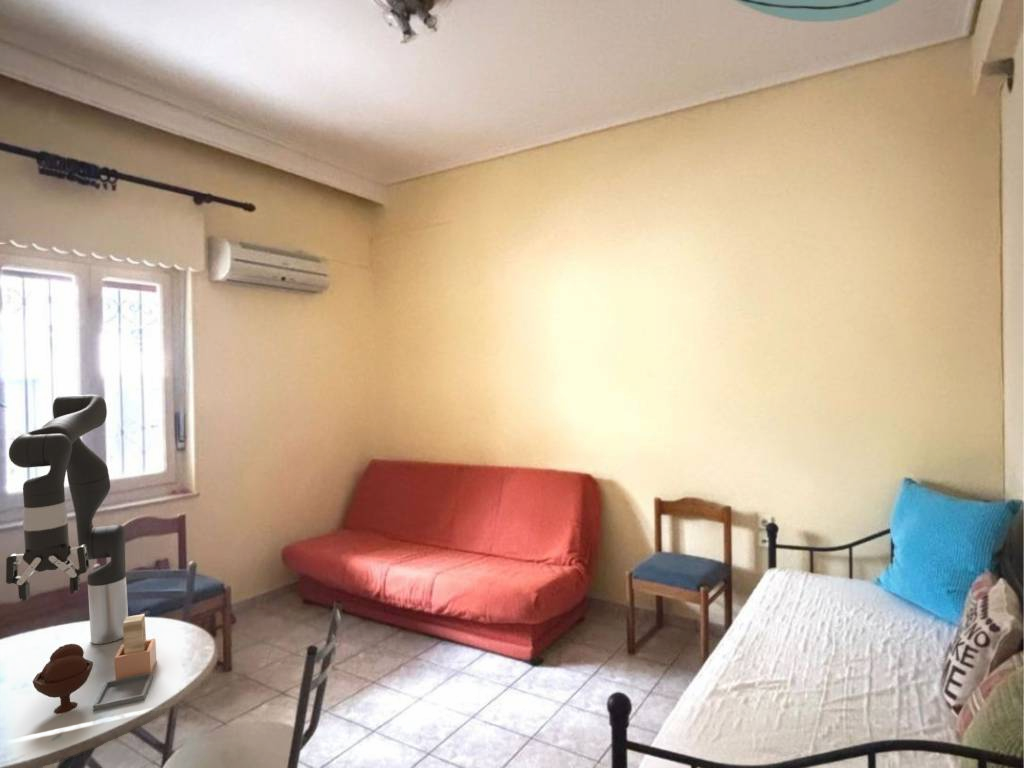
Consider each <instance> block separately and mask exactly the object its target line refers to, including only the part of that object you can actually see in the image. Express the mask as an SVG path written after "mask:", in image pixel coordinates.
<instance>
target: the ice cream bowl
mask: <svg viewBox="0 0 1024 768" xmlns="http://www.w3.org/2000/svg"><path fill="white" fill-rule="evenodd" d="M84 653H85V651H84V649H83V647H82V646H80V645H79V644H75V643H68V644H64V645H62V646H61V645H60V646H59V647H58V648H56V650H54V652H52V654H51V655H50V656H49V661H48V662H47V663H46V664H45V665H44V667H42V670H41V671H40V672H38V673H37V674H35V677H34V678H33V680H31V681H32V684H33V687H34V689H35V691H37V692H38V693H40V694H42V695H44V696H47V697H49V698H59V699H60V705H59V706H57V707H56V708H54V710H53V714H56V715H60V714H65V713H68V712H71V711H73V710H74V709H75V708H77V707H78V705H79V703H78V702H76V701H71V694H72V693H74V692H76V691H77V690H79V689H80V688H81V687H83V685H85V683H86V682H87V681H88V679H89V677H90V675H91V672H92V671H93V665H94V662H93V661H91V660H88V659H87V658H85V657H84Z"/></svg>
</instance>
